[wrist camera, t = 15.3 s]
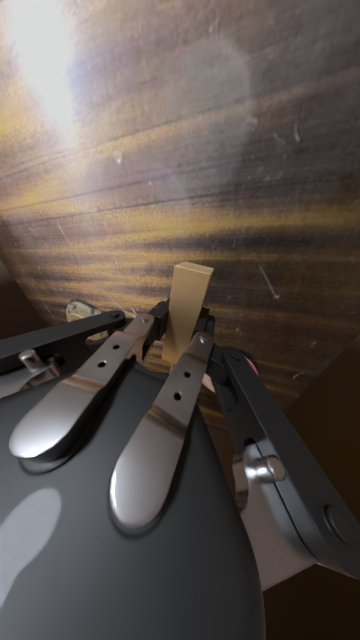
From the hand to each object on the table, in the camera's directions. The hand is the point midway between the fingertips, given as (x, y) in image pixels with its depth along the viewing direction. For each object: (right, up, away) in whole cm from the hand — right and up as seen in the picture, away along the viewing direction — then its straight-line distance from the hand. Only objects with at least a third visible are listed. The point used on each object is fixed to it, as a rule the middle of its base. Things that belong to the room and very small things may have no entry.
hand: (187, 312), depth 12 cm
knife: (-2, -8, +6) cm, 10 cm away
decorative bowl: (-29, -1, +28) cm, 40 cm away
